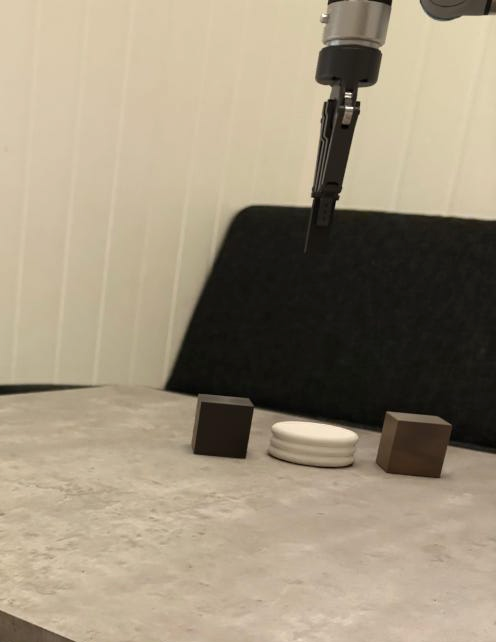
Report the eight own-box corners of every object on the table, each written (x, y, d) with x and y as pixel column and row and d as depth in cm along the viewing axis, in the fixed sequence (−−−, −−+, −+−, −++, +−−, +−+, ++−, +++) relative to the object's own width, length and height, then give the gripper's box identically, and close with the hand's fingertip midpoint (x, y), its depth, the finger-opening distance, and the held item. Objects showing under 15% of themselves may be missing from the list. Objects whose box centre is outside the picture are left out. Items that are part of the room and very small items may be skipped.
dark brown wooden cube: (426, 466, 121) (438, 416, 118) (440, 478, 115) (452, 425, 113) (375, 461, 121) (386, 411, 119) (386, 472, 115) (398, 420, 113)
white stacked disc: (250, 452, 120) (255, 423, 119) (298, 446, 126) (303, 418, 125) (322, 471, 113) (328, 440, 112) (369, 463, 120) (376, 434, 118)
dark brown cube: (240, 448, 122) (249, 398, 120) (245, 458, 117) (254, 406, 114) (191, 443, 123) (198, 393, 120) (193, 453, 117) (201, 401, 115)
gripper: (312, 54, 130) (279, 250, 139) (329, 36, 118) (293, 252, 127) (371, 58, 129) (335, 255, 138) (395, 40, 117) (353, 257, 126)
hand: (315, 253), depth 132 cm, fingers closed
